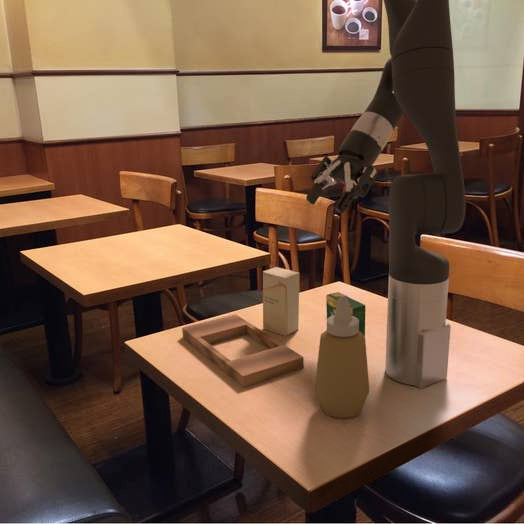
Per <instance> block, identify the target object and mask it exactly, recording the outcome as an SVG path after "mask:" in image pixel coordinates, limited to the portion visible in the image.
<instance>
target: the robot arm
mask: <svg viewBox="0 0 524 524" xmlns="http://www.w3.org/2000/svg"><path fill="white" fill-rule="evenodd" d="M383 4H384V7H385V12H386V17H387V26H388V42H389V43H388V47H389V55H390V58H389V59H388V60H387V61H386V63H385V64H384V66H383V69H382V73H381V76H380V81H379V84H378V85H377V89H376V91H375V93H374V96H373V98H372V100H371V101H370V102H369V104H368V105H367V107H366V108H365V110H364V112H363V113H362V114H361V115H360V117H359V118H358V119H357V121H356V122H355V124H354V125H352V128H351V130H350V131H349V132H348V133H347V135H346V137H345V138H344V140H343V141H342V143H341V145H340V146H339V148H338V156H337V157H336V158H334V159H331V158H330V157H329V156H328V155H326V156H324V157H323V158H322V160H321V161H320V163H319V164H318V165H317V167H316V168H315V169H314V171H313V172H312V174H311V175H310V177H309V179H310V180H311V181H312V183H313V185H312V187H311V188H310V190H309V192H307V195H306V201H307V202H308V203H309V205H315V204H316V202H317V201H318V199H319V198H320V196H321V195H322V193H323V191H324V189H327V187H329V186H335V185H336V184H343V185H345V186H346V187H345V190H346V191H343V193H342V194H341V196H340V197H339V199H338V200H337V202H336V204H334V209H335V210H336V211H337V212H338V213H339V214H343V213H344V212H345V211H346V210H347V209H348V208H349V207H350V205H351V203H352V201H354V199H356V198H357V197H361V198H363V199H364V198H365V197H366V196H367V195H368V193H369V191H370V189H371V187H372V186H373V184H374V183H375V181H376V179H377V177H378V176H379V173H378V171H377V170H376V168H375V167H374V166H373V165H374V164H375V162H376V161H377V160H378V158H379V156H380V154H382V152H383V150H384V148H385V147H386V145H387V144H388V143H389V140H390V138H391V136H392V134H393V132H394V131H395V129H396V128H397V126H398V124H399V123H400V122H401V120H402V118H403V117H404V115H405V116H406V117H407V118H408V120H409V121H410V123H411V124H412V125H413V127H414V128H415V129H416V130H417V132H418V134H419V135H420V137H421V138H422V140H423V142H424V143H425V146H426V148H427V150H428V153H429V156H430V159H431V160H430V161H431V164H432V165H431V166H432V169H433V173H417V174H414V173H413V174H401V175H398V176H395V178H394V179H393V180H392V182H391V185H390V188H389V193H388V234H389V235H388V261H389V262H388V263H389V268H388V287H387V291H388V292H387V293H388V294H387V310H386V311H387V315H386V319H387V320H386V341H385V342H386V344H385V366H384V368H385V369H384V370H385V374H386V375H387V376H388V377H389V378H390V379H392V380H394V381H396V382H398V383H402V384H405V385H411V386H415V387H418V388H419V389H423V388H426V387H428V386H429V385H432V384H435V383H437V382H440V381H443V380H446V379H447V378H448V370H449V368H448V367H449V357H450V356H449V352H450V342H451V341H450V339H451V324H449V323H448V322H447V309H448V308H447V306H448V293H449V279H450V262H449V260H448V258H447V257H445V256H444V255H442V254H440V253H437V252H435V251H432V250H428V249H425V248H422V247H421V246H418V245H417V244H416V237H415V236H417V235H437V234H438V235H439V234H441V235H442V234H452V233H457V232H458V231H459V230H461V228H462V227H463V224H464V220H465V218H466V217H465V216H466V189H465V182H464V174H463V173H464V172H463V167H462V160H461V153H460V146H459V145H460V144H459V138H458V129H457V115H456V92H455V91H456V90H455V86H456V85H455V81H456V80H455V60H454V47H453V36H452V26H451V13H450V0H383ZM319 174H320V175H319ZM330 175H331V176H330ZM325 180H326V181H325Z"/></svg>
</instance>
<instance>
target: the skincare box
mask: <svg viewBox="0 0 524 524" xmlns="http://www.w3.org/2000/svg"><path fill="white" fill-rule="evenodd" d="M299 303H300V272H297V271H295V270H290V269H286V268H283V267H279V266H275V267H273V268H269V269H266V270H263V271H262V328H263V329H265V330H268V331H270V332H273V333H276V334H278V335H281V336H283V337H284V336H285V337H286V336H288V335H291V334H292V333H294V332H297V331H299V318H300V316H299V314H300V313H299V310H300V305H299Z"/></svg>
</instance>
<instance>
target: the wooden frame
mask: <svg viewBox="0 0 524 524" xmlns="http://www.w3.org/2000/svg"><path fill="white" fill-rule="evenodd" d="M181 328H182V329H181V331H182V333H181V334H182V338H183V339H185V340H186V341H187V342H188V343H189V344H191V346H193V347H194V348H196V349H197V351H199V352H201V353H202V354H203V355H204V356H205V357H206V358H207V359H209V360H210V361H211V362H212V363H214V364H215V365H216V367H218V368H219V369H220V370H222V371H223V372H225V373H226V374H227V375H228V376H229V377H231V378H232V379H233V380H234V381H236V383H238V384H239V385H240V386H241V387H243V388H245V387H248V386H251V385H256V384H257V383H261V382H263V381H267V380H270V379H273V378H276V377H280V376H282V375H285V374H288V373H291V372H294V371H297V370H300V369H303V368H304V366H305V365H304V363H305V362H304V361H305V360H304V358H305V357H304V356H303V355H301V354H299V353H298V352H297V351H296V350H293V349H291V348H290V347H288V346H286V345H285V344H283V343H282V342H281V341H279V340H278V339H276V338H274V337H273V336H271V335H269V334H268V333H266V332H265V331H263V330H261V329H260V328H258V327H257V326H255V325H253V324H252V323H250V322H249V321H247V320H246V319H244V318H243V317H241V316H239V315H238V314H236V313H235V314H232V315H231V314H230V315H226V316H224V317H219V318H216V319H211V320H207V321H203V322H199V323H195V324H191V325H187V326H184V327H181ZM244 335H247V336H248V337H250V338H252V339H253V340H255V341H256V342H258V343H259V344H260V345H262V346H263V347H265V348H266V350H263V351H259V352H256V353H252V354H248V355H245V356H242V357H239V358H236V359H232V360H230V359H229V358H228V357H226V356H225V355H224V354H223V353H222V352H220V351H219V350H218V349H216V348H215V347H213V345H212V344H216V343H218V342H223V341H226V340H230V339H234V338H237V337H241V336H244Z"/></svg>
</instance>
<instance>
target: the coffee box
mask: <svg viewBox="0 0 524 524" xmlns="http://www.w3.org/2000/svg"><path fill="white" fill-rule="evenodd" d="M340 295H345V294H344V293H341V292H339V291H338V292H333V293H328V294H326V296H325V298H326V300H325V301H326V303H325V305H326V320H327V319H328V318H329V317H330V316H333V315H335V311H336V307H337V303H338V299H339V296H340ZM347 297H348V302H349V306H350V311H351V316H354V317H356V318H357V319H358V320H359V331H360V332H361V333H362V334H363V335H364V336H365V337H366V304H363V303H362V302H360V301H358V300H355V299H354V298H351V297H349V296H347Z"/></svg>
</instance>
